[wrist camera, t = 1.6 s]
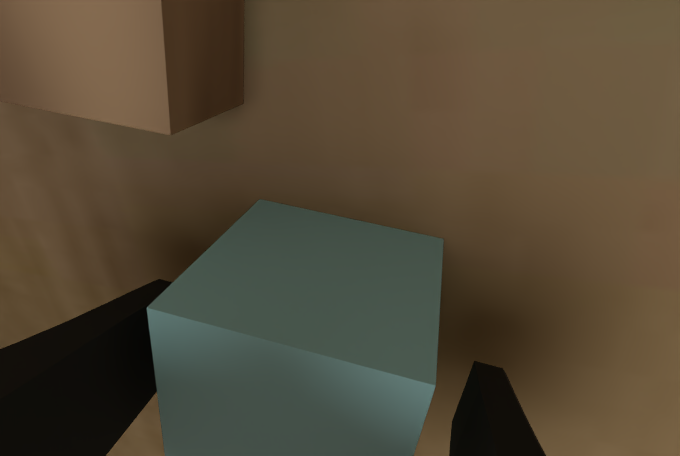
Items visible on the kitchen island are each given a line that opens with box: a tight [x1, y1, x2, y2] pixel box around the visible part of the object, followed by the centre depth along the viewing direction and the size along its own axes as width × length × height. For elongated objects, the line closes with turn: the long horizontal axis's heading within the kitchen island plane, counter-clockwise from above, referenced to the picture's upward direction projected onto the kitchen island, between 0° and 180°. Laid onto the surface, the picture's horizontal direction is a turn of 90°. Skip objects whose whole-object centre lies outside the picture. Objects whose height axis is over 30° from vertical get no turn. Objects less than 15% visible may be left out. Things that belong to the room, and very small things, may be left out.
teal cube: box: [147, 199, 444, 456], centre depth 10 cm, size 5×5×5 cm
